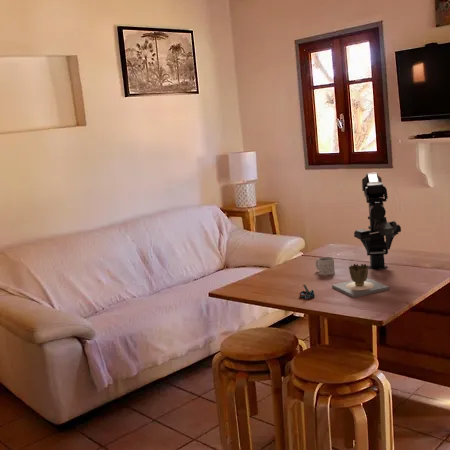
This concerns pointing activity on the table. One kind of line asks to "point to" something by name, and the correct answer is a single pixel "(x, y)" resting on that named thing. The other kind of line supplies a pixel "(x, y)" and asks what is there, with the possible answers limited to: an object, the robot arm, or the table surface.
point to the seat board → (360, 288)
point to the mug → (325, 266)
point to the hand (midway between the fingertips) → (378, 251)
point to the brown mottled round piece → (359, 274)
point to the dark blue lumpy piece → (306, 294)
